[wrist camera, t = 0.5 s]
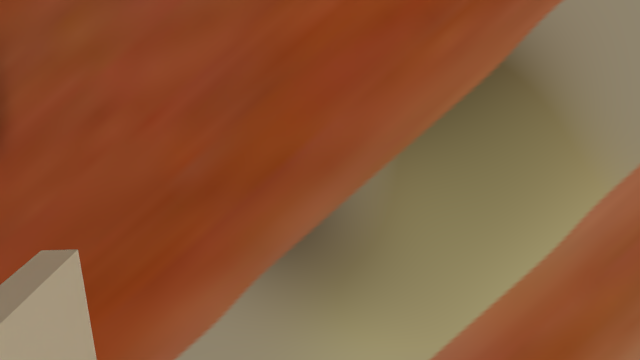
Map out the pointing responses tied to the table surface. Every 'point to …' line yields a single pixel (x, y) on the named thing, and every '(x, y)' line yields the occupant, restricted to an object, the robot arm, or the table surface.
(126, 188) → the table surface
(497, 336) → the table surface
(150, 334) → the table surface
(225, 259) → the table surface
